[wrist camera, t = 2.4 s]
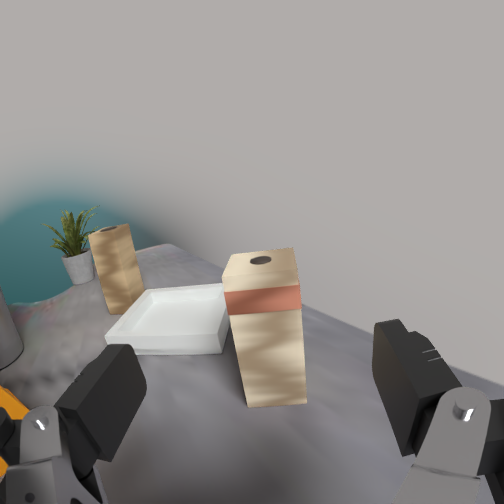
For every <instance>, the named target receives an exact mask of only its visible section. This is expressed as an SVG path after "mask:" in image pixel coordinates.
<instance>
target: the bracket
mask: <svg viewBox="0 0 504 504" xmlns="http://www.w3.org/2000/svg"><path fill="white" fill-rule="evenodd" d="M0 407H3V408H5V410H6V411H7V413H8V414H9V416H10V417H11V419H23V418H24V416H25V415H26V414H27V413H28V412H29V411H30V410H29V409H28V408H27V407H26V406H25V405H23V404H22V403H21V402H20V401H19V400H18V399H17V398H16V397H15V396H14V395H13V394H12V393H11V392H10V391H9V390H8V389H4V388H3V387H2V386H1V385H0ZM7 467H8V465H7V463H6V462H5V461H4V460H3V459H2V458H1V456H0V477H1V476H2V475H3V474H5V473H6V469H7Z"/></svg>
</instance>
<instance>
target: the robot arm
mask: <svg viewBox="0 0 504 504" xmlns="http://www.w3.org/2000/svg"><path fill="white" fill-rule="evenodd" d="M22 350H23V343H22V341H21V339H20V337H19V334H18V332H17V330H16V327H15V325H14V322H13V320H12V317H11V315H10V312H9V309H8V307H7V304H6V302H5V298H4V296H3V293H2V290H1V287H0V369H2V368H4V367H6V366H7V365H9V364H10V363H12V362H13V361H14V360H15V359H16V358H17V357H18V356H19V355H20V354H21V352H22ZM372 371H373V377H374V381H375V384H376V386H377V389H378V391H379V394H380V396H381V399H382V402H383V404H384V407H385V410H386V412H387V415H388V418H389V421H390V423H391V426H392V429H393V432H394V435H395V437H396V440H397V443H398V446H399V449H400V452H401V455H402V457H404V456H407V455H411V454H415V456H416V460H415V462H414V464H413V465H412V466H411V468H410V470H409V472H408V474H407V476H406V478H405V480H404V482H403V483H402V485H401V487H400V489H399V491H398V493H397V494H396V496H395V498H394V500H393V501H392V503H391V504H474V503H475V500H476V497H477V494H478V491H479V487H480V478H478V477H476V476H479V475H485V477H486V480H487V482H488V485H489V487H490V490H491V493H492V496H493V498H494V501H495V504H504V399H499V400H489V399H488V398H487V396H486V395H485V394H484V393H482V392H481V391H479V390H477V389H474V388H470V387H462V385H461V384H460V382H459V381H458V379H457V378H456V376H455V375H454V374H453V372H452V371H451V369H450V368H449V367H448V365H447V364H446V362H445V361H444V360H443V358H441V356H440V354H439V353H438V351H437V350H435V347H434V346H433V345H432V343H431V342H430V341H429V340H428V338H426V337H425V336H423V335H421V334H419V333H418V332H416V331H414V332H408V331H407V329H406V328H405V327H404V325H403V324H402V322H401V321H400V320H399V319H395V320H389V321H384V322H378V323H376V324H375V327H374V341H373V358H372ZM146 390H147V385H146V379H145V377H144V374H143V372H142V369H141V367H140V364H139V362H138V359H137V357H136V354H135V351H134V349H133V347H132V346H131V345H130V344H109V345H108V346H107V347H106V348H105V349H104V350H103V351H102V353H101V354H100V355H99V356H98V357H97V358H96V359H95V360H93V361H92V362H90V363H89V364H88V365H87V366H86V367H85V368H84V369H83V370H82V372H81V373H80V375H78V376H77V378H76V379H75V380H74V382H73V383H72V384H71V385H70V386H69V387H68V389H67V390H66V391H65V392H64V394H63V395H62V396H61V397H60V398H59V400H58V401H57V402H56V403H55V405H54V406H49V405H42V406H38V407H36V408H34V409H32V410H30V411H29V412H28V413H27V414H26V415H25V416H24V418H23V419H11V417H10V416H9V414H8V413H7V411H6V410H5V408H3V407H0V456H1V458H2V459H3V460H4V461H5V462H6V463H7V465H8V467H7V469H6V475H5V477H4V478H3V480H2V481H1V483H0V504H109V502H108V499H107V496H106V493H105V490H104V487H103V484H102V481H101V477H100V474H99V470H98V468H97V466H96V465H95V464H94V463H95V462H96V460H97V459H100V460H104V461H108V462H111V461H112V459H113V457H114V455H115V453H116V451H117V449H118V447H119V445H120V443H121V441H122V439H123V437H124V436H125V434H126V432H127V430H128V428H129V426H130V424H131V422H132V420H133V418H134V416H135V414H136V412H137V410H138V408H139V407H140V405H141V403H142V401H143V399H144V397H145V395H146Z"/></svg>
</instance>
